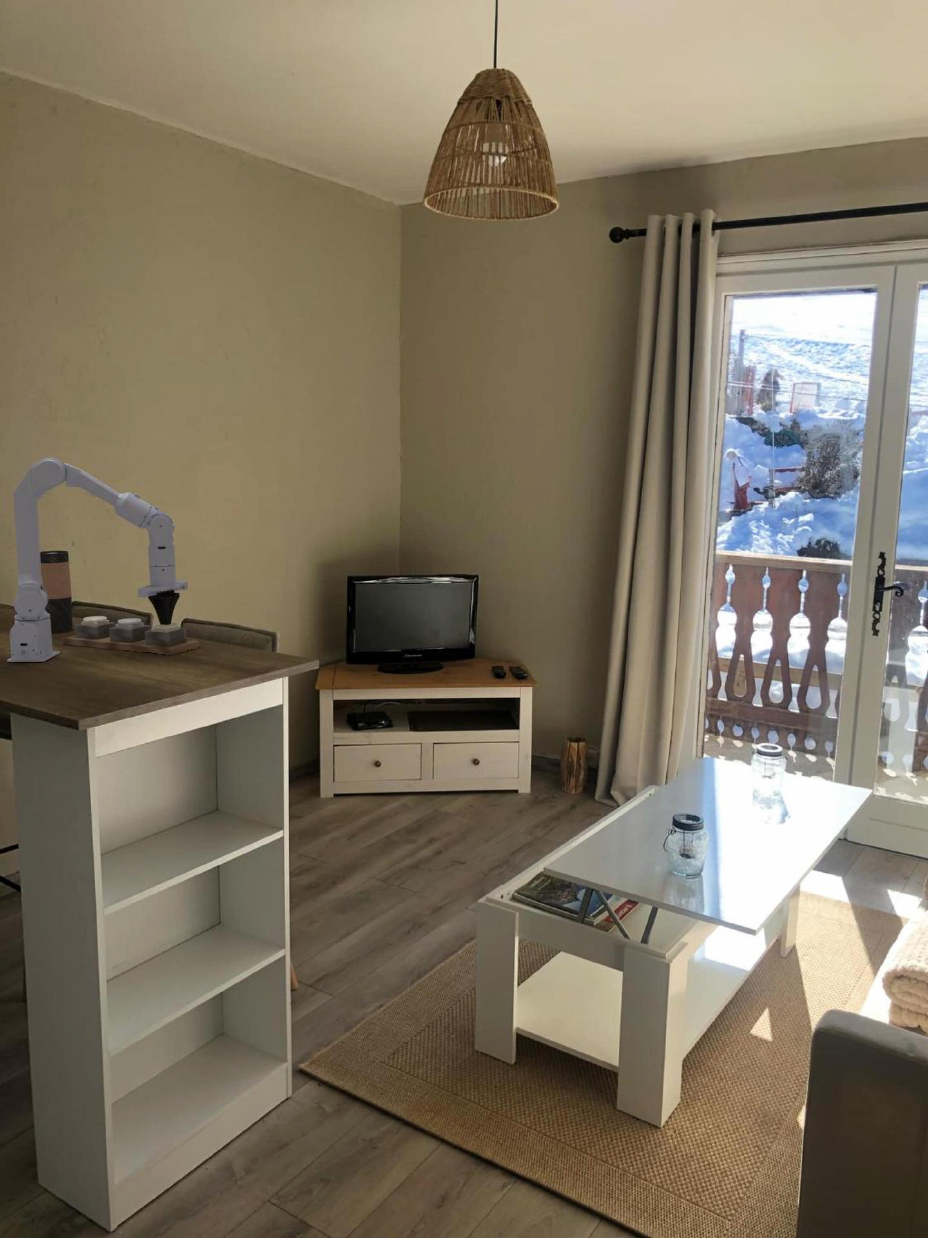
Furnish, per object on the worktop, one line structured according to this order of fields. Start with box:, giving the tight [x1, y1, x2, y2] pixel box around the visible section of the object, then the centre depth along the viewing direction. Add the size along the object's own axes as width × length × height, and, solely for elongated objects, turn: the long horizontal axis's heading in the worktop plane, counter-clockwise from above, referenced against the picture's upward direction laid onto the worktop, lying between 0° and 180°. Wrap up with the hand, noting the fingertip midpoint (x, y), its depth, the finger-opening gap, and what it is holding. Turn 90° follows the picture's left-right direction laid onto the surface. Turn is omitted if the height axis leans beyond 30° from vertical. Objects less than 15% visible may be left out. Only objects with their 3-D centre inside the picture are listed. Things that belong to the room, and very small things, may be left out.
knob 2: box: [116, 617, 145, 629], centre depth 236 cm, size 5×5×4 cm
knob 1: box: [80, 615, 110, 626], centre depth 240 cm, size 5×5×4 cm
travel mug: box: [40, 550, 73, 634], centre depth 256 cm, size 8×8×20 cm
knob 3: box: [150, 621, 181, 633], centre depth 232 cm, size 5×5×4 cm
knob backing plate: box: [62, 621, 201, 656], centre depth 236 cm, size 32×10×4 cm, turn 66°
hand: (165, 624), depth 232 cm, fingers closed, pressing on knob 3
